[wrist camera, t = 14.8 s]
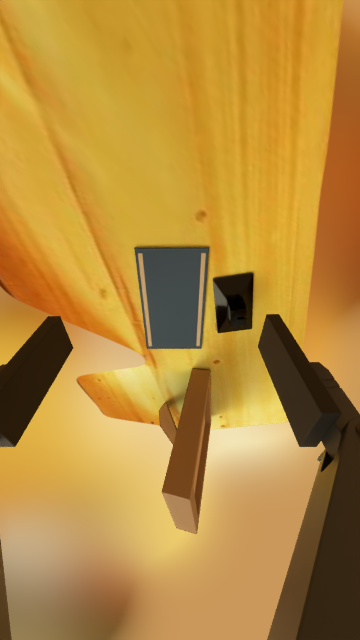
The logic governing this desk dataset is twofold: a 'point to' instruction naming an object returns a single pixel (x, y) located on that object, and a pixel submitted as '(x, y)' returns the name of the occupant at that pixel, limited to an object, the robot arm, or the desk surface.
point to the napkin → (172, 295)
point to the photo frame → (188, 452)
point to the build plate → (233, 302)
